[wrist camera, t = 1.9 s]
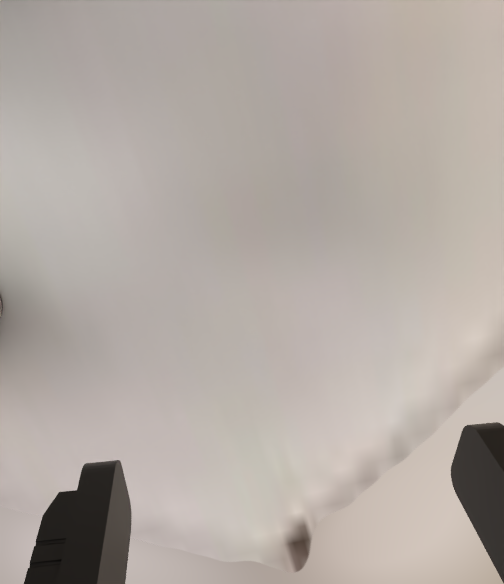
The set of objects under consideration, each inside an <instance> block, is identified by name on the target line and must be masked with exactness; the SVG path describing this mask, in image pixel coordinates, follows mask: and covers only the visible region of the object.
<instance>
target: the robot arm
mask: <svg viewBox="0 0 504 584" xmlns="http://www.w3.org/2000/svg"><path fill="white" fill-rule="evenodd" d="M1 313H2V304H1V298H0V318H1ZM451 478H452V483H453V487H454V490H455V492H456V494H457V496H458V498H459V500H460V502H461V504H462V505H463V508H464V509H465V511H466V513H467V515H468V517H469V519H470V521H471V522H472V524H473V526H474V528H475V530H476V532H477V534H478V536H479V538H480V540H481V541H482V543H483V545H484V547H485V549H486V551H487V552H488V555H489V556H490V558H491V560H492V562H493V564H494V566H495V568H496V569H497V571H498V573H499V575H500V577H501V579H502V581H503V583H504V426H503V425H502V424H500V423H486V424H475V425H467V426H465V427H464V428H463V431H462V434H461V437H460V440H459V443H458V447H457V450H456V454H455V457H454V460H453V463H452V466H451ZM130 533H131V505H130V499H129V495H128V490H127V486H126V482H125V478H124V474H123V469H122V465H121V462H120V461H119V460H117V461H106V462H96V463H86V464H85V465H84V466H83V468H82V472H81V476H80V480H79V485H78V489H77V490H76V491H66V492H59V493H58V495H57V496H56V498H55V499H54V500H53V502H52V503H51V505H50V506H49V508H48V509H47V511H46V512H45V513H44V515H43V517H42V521H41V525H40V529H39V532H38V536H37V539H36V546H35V547H34V550H33V553H32V557H31V560H30V568H28V571H27V574H26V578H25V582H24V584H125V579H126V570H127V561H128V552H129V542H130Z"/></svg>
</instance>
